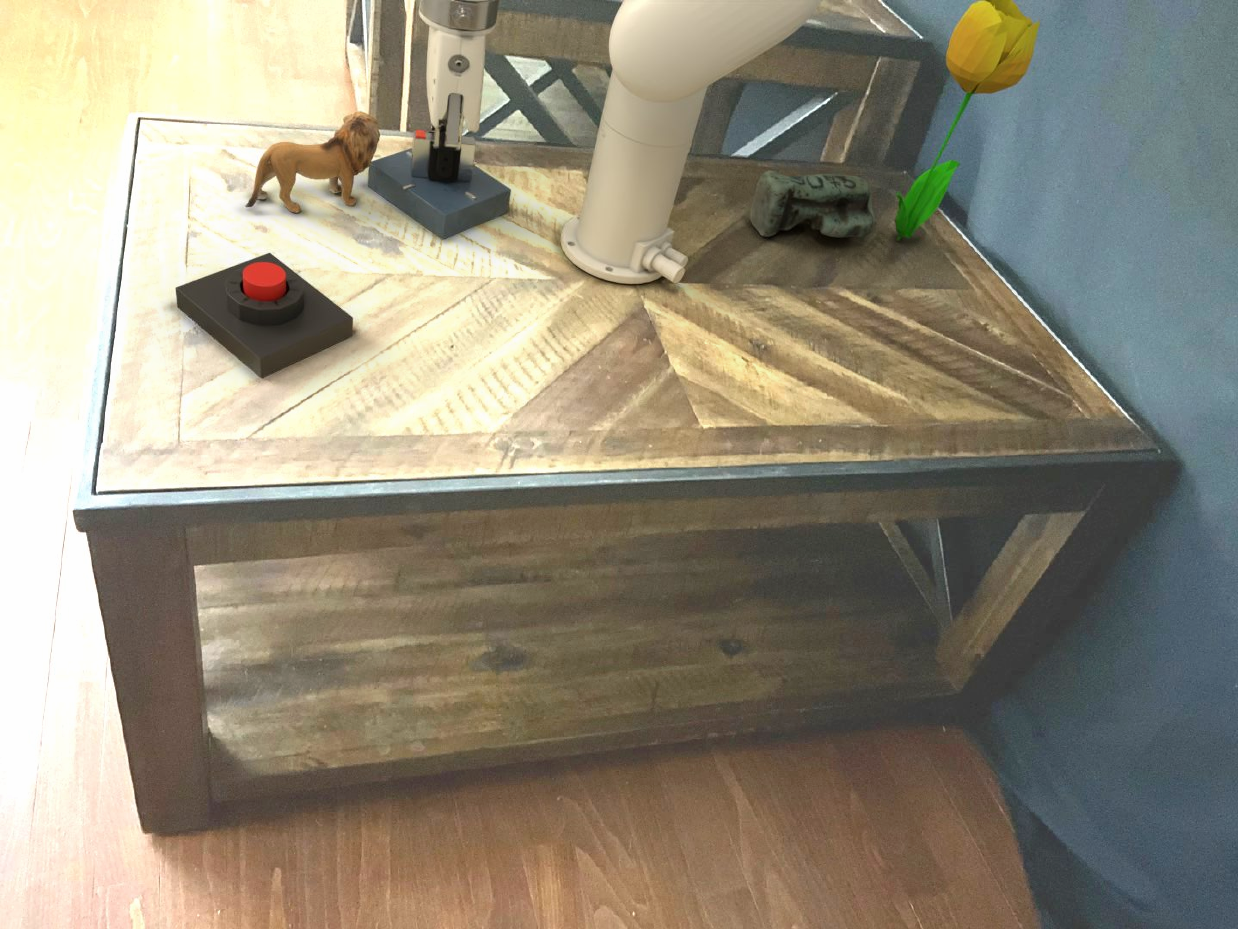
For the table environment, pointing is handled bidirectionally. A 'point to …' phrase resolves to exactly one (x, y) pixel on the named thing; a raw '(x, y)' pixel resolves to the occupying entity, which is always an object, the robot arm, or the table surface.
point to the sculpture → (813, 204)
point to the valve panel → (438, 195)
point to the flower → (972, 88)
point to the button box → (264, 318)
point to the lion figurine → (320, 160)
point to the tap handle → (423, 151)
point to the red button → (264, 281)
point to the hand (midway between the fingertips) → (441, 172)
